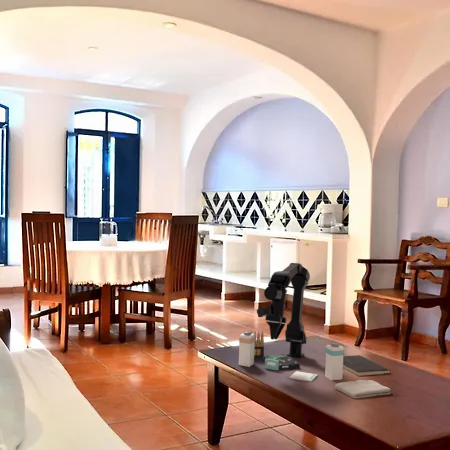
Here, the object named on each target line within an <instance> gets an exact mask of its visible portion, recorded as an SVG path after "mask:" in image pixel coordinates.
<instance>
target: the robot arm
mask: <svg viewBox="0 0 450 450" xmlns="http://www.w3.org/2000/svg"><path fill="white" fill-rule="evenodd" d="M310 278H311V275H310V272H309V271H308V269H307V268H306V267H304V266H303V265H302V263H300V262H290V263H289V265H288V266H286V267H285V268H284V269H283V270H279V271H275V272H273V274H272V275H271V277H270V278H269V279H270V280H269V282H268V284H267V287H266V288H264V291H263V295H264V297H265V298H266V299H267V300H268V301H271V303H270V304H269V306H266V307H265V306H263V305H260V306H258V309H256V313H257V318H263V317H265V319H264V320H265V322H266V324H267V325H268V326H269V333H270V339H271V340H278V338H279V336H280V335H281V333H282V331H283V329H284V327H285V326H286V329H285V332H284V333H285V334H284V336H285V343H289V351H288V353H287V354H286V356H287V357H295V358H302V357H303V356H304V355H305V353H304V352H303V345H304V344H307V339H308V338H307V335H306V332H305V326H304V324H303V322H302V317H303V315H302V314H303V305H304V293H305V289H306V287H307V286H308V285H309V281H310ZM290 284H291V286H292V288H293V292H292V293H293V295H292V296H293V297H292V307H291V318H290V321H289V322H288V323H287V321H288V320H287V317H285V308H286V298H287V293H288V290H287V288H288V287H289V286H290ZM286 323H287V324H286Z"/></svg>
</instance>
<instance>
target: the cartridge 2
mask: <svg viewBox="0 0 450 450" xmlns="http://www.w3.org/2000/svg"><path fill="white" fill-rule="evenodd" d="M344 348H345V347H343V346H342V345H340V343H338V342H331V343H330V344H326V348H325V369H324V372H325V373H324V374H325V375H324V377H325V378H327V379H329V380H330V381H340V380H343V373H344V372H343V369H344V368H343V356H345V353H344V352H345V349H344Z"/></svg>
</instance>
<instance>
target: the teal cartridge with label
mask: <svg viewBox="0 0 450 450" xmlns="http://www.w3.org/2000/svg"><path fill="white" fill-rule="evenodd" d="M264 369H266V370H267V369H268V370H272V371H280V370H279V361H277V360H271V359H265V362H264Z"/></svg>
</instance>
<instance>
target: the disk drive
mask: <svg viewBox="0 0 450 450" xmlns="http://www.w3.org/2000/svg"><path fill="white" fill-rule="evenodd" d="M262 359H263V360H262V361H263V362H264V363H265V359H271V360H277V361H279V370H278V371H284V370H285V371H287V370H296V369H301V363H300V362H298V361H297V360H294V359H293V358H290V356H287V355H285V354H274V355H264V358H262Z"/></svg>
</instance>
